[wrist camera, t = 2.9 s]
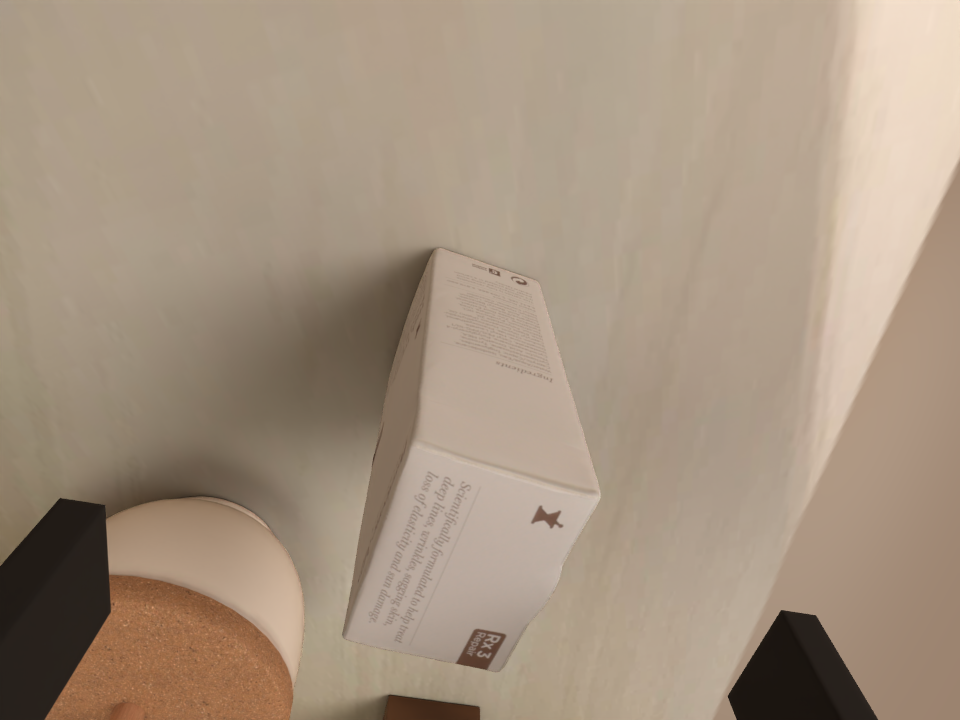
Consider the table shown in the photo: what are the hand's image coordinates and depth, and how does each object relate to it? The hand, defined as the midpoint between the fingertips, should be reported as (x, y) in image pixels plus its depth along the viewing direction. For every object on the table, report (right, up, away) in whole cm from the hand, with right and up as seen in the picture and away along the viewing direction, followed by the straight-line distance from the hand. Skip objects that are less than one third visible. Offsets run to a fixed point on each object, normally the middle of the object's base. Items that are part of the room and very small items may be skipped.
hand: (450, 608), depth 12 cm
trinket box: (-12, -4, +17) cm, 21 cm away
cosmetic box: (0, +6, +12) cm, 13 cm away
